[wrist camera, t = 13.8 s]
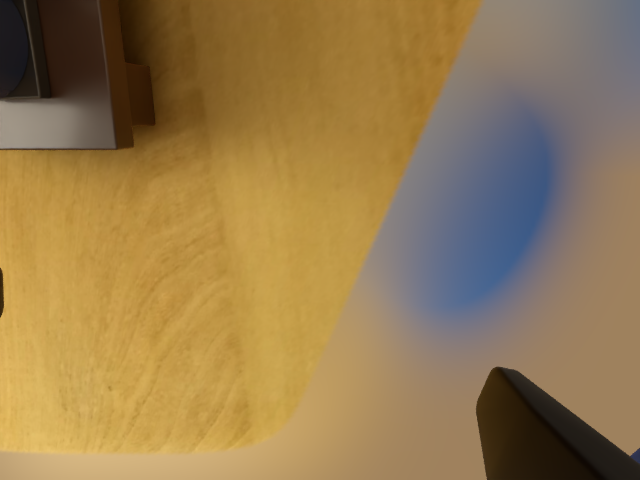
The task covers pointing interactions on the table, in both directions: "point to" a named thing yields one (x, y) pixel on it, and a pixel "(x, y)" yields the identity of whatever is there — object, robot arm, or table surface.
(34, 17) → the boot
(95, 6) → the wooden wall shelf
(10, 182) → the table surface
